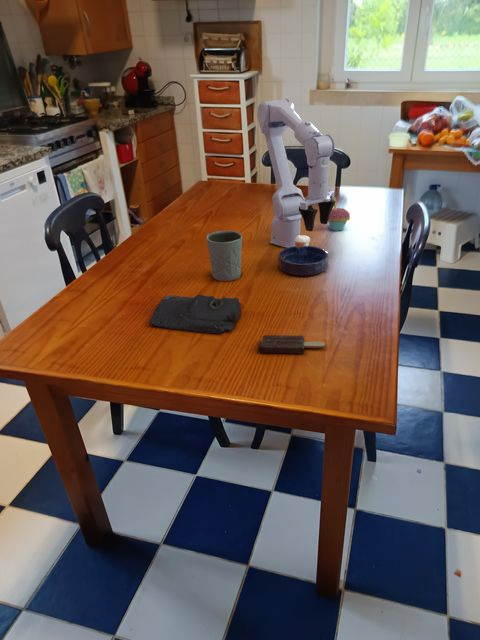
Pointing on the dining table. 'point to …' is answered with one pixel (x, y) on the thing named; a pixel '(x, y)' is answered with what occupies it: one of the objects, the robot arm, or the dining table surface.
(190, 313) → the black snap pouch
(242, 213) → the dining table surface
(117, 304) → the dining table surface
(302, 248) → the milkshake
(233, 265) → the grey green cup
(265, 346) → the ice cream bar
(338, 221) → the cupcake
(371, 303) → the dining table surface
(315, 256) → the bowl
